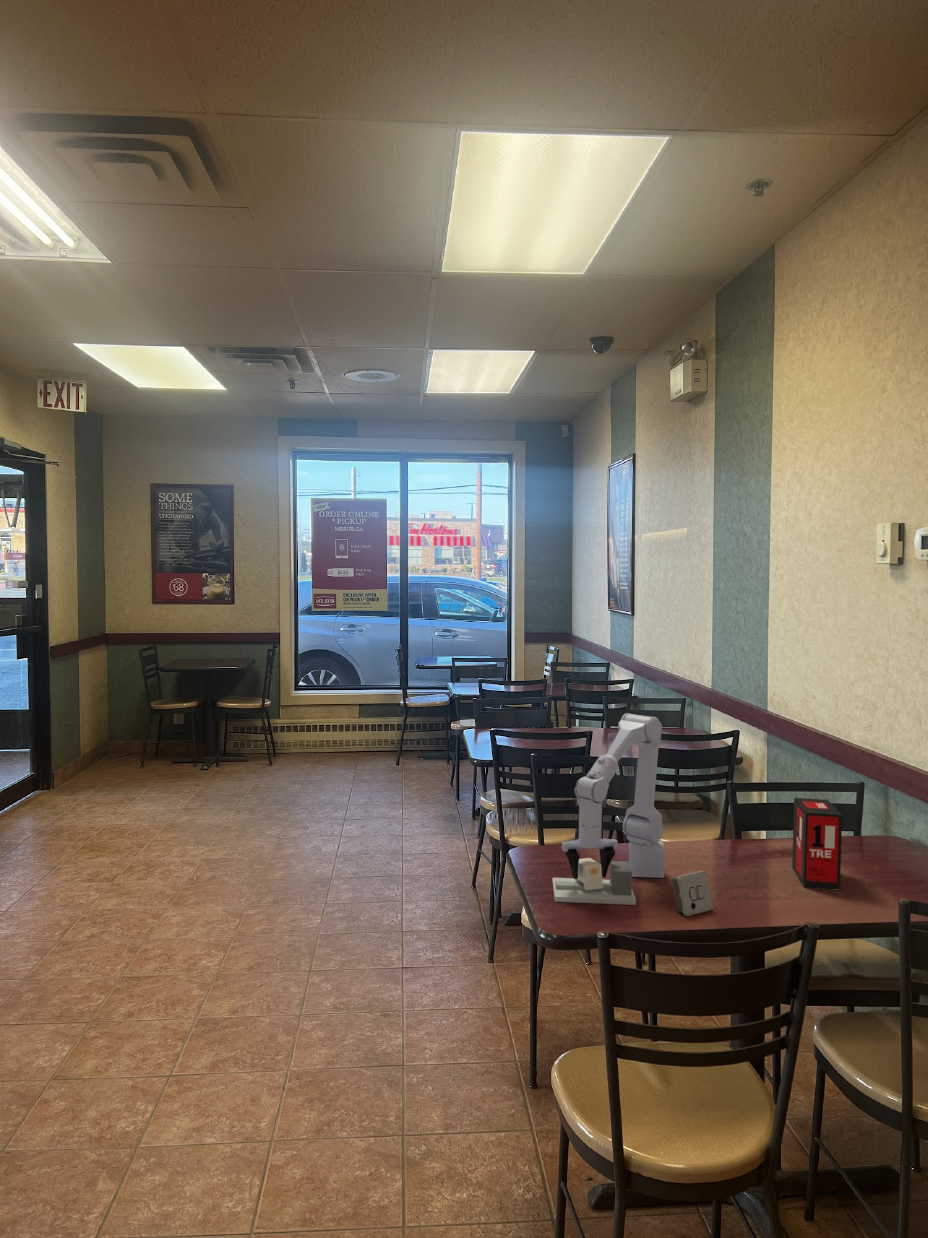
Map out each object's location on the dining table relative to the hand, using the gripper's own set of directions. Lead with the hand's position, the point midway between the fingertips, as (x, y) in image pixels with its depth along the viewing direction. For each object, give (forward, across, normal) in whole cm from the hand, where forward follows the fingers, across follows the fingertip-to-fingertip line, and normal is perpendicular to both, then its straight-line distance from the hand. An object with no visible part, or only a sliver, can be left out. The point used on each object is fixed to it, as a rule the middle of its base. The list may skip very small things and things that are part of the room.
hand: (589, 877), depth 211 cm
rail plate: (+4, -1, 0) cm, 4 cm away
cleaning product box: (+4, -66, +1) cm, 66 cm away
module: (+2, 0, 0) cm, 2 cm away
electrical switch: (+4, -20, +16) cm, 26 cm away
